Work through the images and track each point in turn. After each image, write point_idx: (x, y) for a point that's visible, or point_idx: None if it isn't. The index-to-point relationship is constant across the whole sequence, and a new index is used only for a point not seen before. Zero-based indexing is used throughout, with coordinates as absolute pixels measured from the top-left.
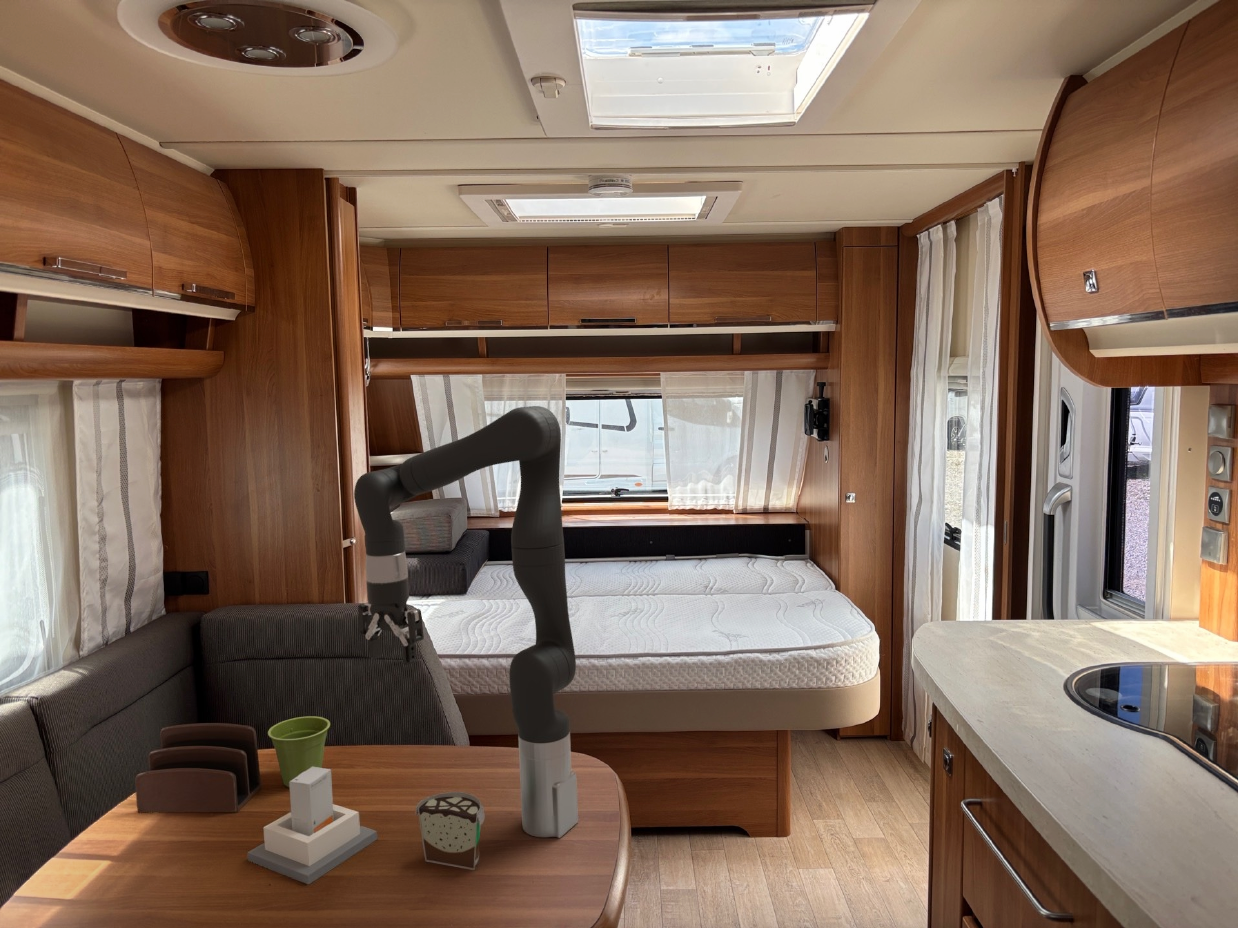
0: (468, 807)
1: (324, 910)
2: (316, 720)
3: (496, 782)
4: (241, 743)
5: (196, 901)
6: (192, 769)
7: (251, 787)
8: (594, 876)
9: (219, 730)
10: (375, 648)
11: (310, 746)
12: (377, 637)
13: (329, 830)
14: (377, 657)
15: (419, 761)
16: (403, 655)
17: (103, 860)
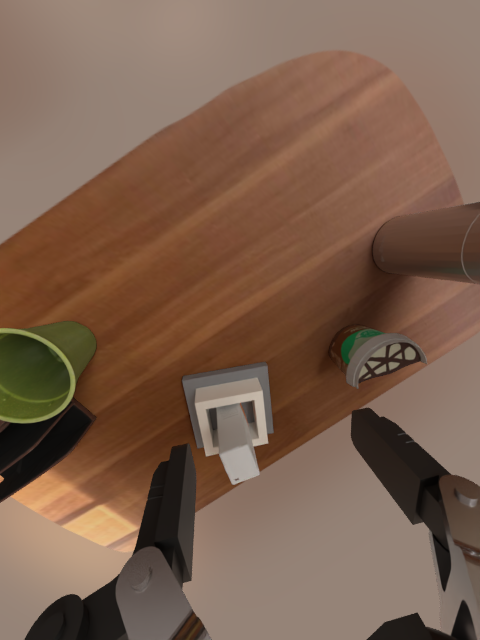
0: (402, 353)
1: (308, 433)
2: None
3: (290, 200)
4: None
5: (219, 480)
6: (22, 487)
7: None
8: (468, 289)
9: None
10: (190, 504)
11: (78, 372)
12: (174, 554)
13: (265, 422)
14: (191, 456)
15: (149, 213)
16: (378, 475)
17: (94, 508)
